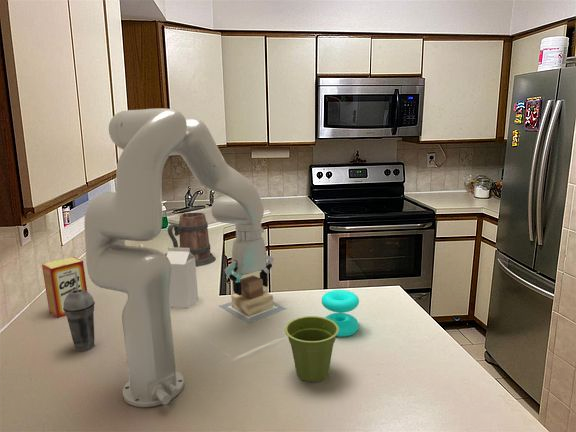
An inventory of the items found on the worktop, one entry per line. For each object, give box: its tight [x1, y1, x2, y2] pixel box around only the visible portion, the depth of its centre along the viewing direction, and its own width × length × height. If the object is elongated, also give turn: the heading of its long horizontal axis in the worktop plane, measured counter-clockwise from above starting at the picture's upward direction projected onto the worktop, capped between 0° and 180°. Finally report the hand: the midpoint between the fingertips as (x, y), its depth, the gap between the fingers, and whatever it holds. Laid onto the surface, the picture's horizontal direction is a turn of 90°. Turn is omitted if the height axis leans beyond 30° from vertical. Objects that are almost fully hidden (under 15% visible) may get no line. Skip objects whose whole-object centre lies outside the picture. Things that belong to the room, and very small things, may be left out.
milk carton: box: [167, 246, 199, 309], centre depth 132 cm, size 7×7×19 cm
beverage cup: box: [63, 272, 95, 352], centre depth 107 cm, size 7×7×20 cm
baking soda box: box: [41, 256, 88, 319], centre depth 131 cm, size 10×6×16 cm
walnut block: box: [239, 274, 264, 300], centre depth 127 cm, size 5×5×5 cm
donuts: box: [321, 289, 360, 338], centre depth 114 cm, size 10×10×10 cm
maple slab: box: [230, 290, 274, 316], centre depth 128 cm, size 9×9×4 cm
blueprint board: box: [219, 301, 287, 324], centre depth 129 cm, size 16×14×1 cm
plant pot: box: [284, 315, 339, 383], centre depth 94 cm, size 12×12×11 cm
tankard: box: [164, 212, 217, 268], centre depth 174 cm, size 24×17×20 cm
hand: (251, 289), depth 127 cm, fingers open, 9 cm apart
